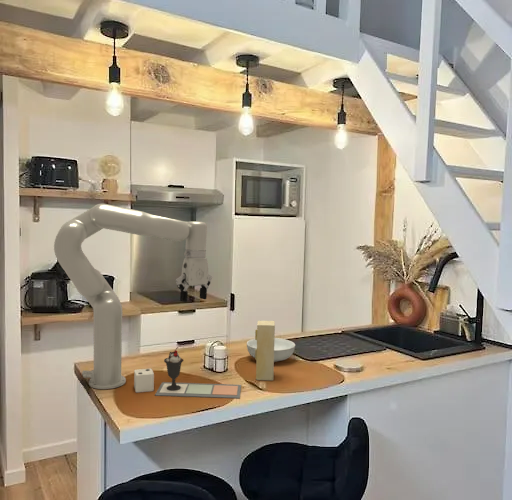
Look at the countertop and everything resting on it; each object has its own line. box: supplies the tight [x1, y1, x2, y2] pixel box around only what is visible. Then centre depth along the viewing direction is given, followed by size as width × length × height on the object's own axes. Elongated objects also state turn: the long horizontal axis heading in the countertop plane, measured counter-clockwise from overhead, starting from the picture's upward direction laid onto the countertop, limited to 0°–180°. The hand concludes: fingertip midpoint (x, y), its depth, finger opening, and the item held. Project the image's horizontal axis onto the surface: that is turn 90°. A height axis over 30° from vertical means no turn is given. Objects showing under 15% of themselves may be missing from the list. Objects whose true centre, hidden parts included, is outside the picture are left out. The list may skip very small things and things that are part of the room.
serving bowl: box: [246, 337, 296, 363], centre depth 206 cm, size 21×21×7 cm
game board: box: [154, 381, 242, 399], centre depth 168 cm, size 29×12×1 cm, turn 89°
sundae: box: [163, 346, 184, 391], centre depth 167 cm, size 7×7×15 cm
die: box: [133, 367, 155, 393], centre depth 168 cm, size 6×6×6 cm
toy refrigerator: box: [254, 320, 276, 381], centre depth 183 cm, size 8×7×21 cm
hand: (193, 300), depth 180 cm, fingers open, 9 cm apart
